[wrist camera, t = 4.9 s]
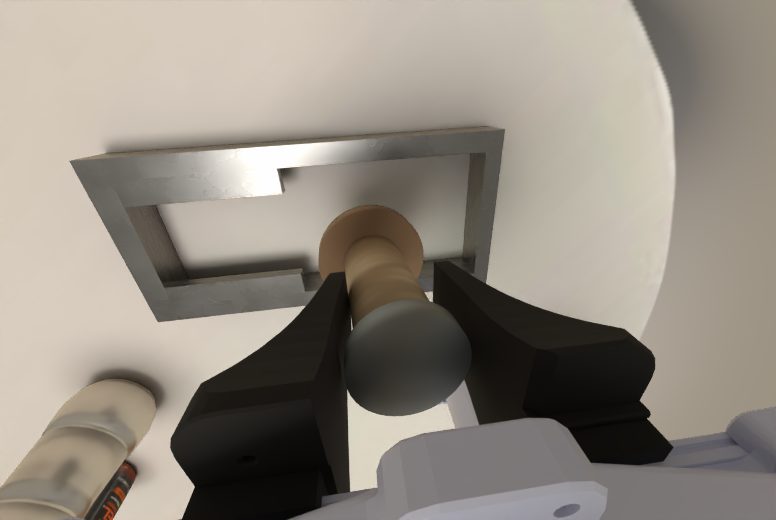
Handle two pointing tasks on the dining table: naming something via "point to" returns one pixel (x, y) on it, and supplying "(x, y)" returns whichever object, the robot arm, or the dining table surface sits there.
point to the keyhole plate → (259, 178)
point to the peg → (392, 315)
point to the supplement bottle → (112, 494)
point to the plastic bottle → (79, 452)
